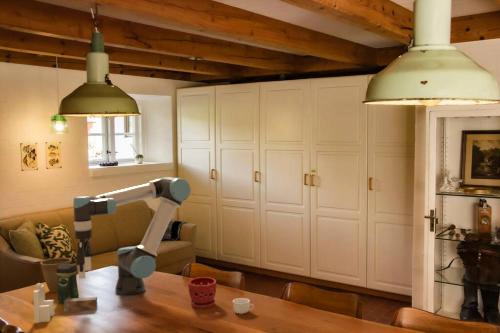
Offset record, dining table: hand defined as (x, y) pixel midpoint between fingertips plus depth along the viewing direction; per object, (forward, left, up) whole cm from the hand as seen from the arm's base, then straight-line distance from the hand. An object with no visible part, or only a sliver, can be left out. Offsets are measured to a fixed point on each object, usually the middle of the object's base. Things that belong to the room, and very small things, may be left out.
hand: (85, 274), depth 238 cm
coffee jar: (+12, -14, -17) cm, 25 cm away
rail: (+3, 0, -17) cm, 17 cm away
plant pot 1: (+22, -33, -17) cm, 43 cm away
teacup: (-72, +18, -17) cm, 77 cm away
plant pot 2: (-54, +5, -17) cm, 57 cm away
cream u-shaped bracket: (+17, +9, -17) cm, 25 cm away
